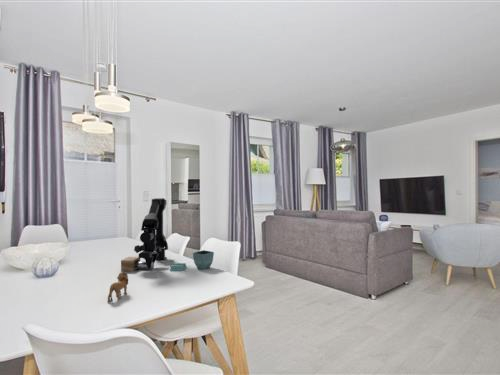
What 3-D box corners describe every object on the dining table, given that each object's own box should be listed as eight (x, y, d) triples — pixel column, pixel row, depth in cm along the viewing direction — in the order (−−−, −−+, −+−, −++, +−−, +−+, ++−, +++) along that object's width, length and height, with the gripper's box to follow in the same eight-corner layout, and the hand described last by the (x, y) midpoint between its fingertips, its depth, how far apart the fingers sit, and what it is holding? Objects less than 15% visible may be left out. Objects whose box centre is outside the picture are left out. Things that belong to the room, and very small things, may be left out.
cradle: (174, 267, 167) (174, 262, 168) (186, 267, 167) (186, 262, 167) (170, 270, 159) (169, 266, 160) (182, 270, 159) (182, 266, 159)
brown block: (128, 266, 169) (128, 256, 169) (140, 266, 169) (140, 256, 169) (121, 271, 160) (121, 260, 160) (133, 271, 160) (133, 260, 160)
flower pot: (203, 271, 159) (203, 254, 159) (192, 268, 164) (192, 252, 164) (214, 267, 166) (214, 251, 166) (203, 265, 171) (203, 250, 171)
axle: (130, 268, 167) (130, 261, 167) (154, 267, 166) (154, 261, 166) (127, 269, 163) (127, 262, 163) (151, 269, 162) (151, 262, 162)
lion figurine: (118, 291, 128) (118, 270, 128) (130, 290, 128) (130, 270, 128) (105, 304, 113) (104, 281, 113) (119, 303, 114) (118, 280, 114)
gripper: (143, 237, 174) (143, 263, 174) (129, 242, 155) (129, 271, 155) (161, 237, 173) (161, 263, 173) (149, 242, 155) (149, 271, 155)
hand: (150, 267), depth 164 cm, fingers closed on axle, 4 cm apart
